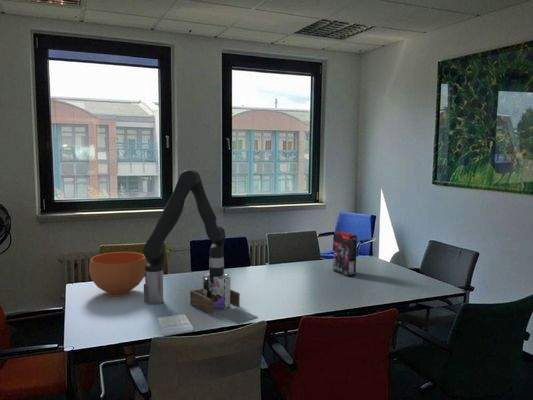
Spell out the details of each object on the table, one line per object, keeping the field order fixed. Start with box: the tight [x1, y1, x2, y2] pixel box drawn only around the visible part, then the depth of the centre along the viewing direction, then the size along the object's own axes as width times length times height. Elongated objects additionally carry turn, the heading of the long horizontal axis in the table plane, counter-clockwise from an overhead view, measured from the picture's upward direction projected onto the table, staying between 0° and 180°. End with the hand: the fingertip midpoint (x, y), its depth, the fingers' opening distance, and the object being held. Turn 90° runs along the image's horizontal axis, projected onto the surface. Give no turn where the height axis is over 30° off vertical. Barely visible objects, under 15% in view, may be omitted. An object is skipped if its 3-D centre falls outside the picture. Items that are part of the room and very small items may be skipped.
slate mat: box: [217, 307, 258, 324], centre depth 220 cm, size 12×17×1 cm
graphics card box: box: [332, 231, 358, 277], centre depth 298 cm, size 17×7×27 cm, turn 28°
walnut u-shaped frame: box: [189, 287, 241, 315], centre depth 234 cm, size 18×19×7 cm
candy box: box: [202, 272, 231, 310], centre depth 232 cm, size 14×6×16 cm, turn 62°
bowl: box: [88, 251, 147, 298], centre depth 250 cm, size 30×30×20 cm
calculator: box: [157, 314, 194, 336], centre depth 206 cm, size 13×20×2 cm, turn 22°
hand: (216, 295), depth 233 cm, fingers open, 8 cm apart
